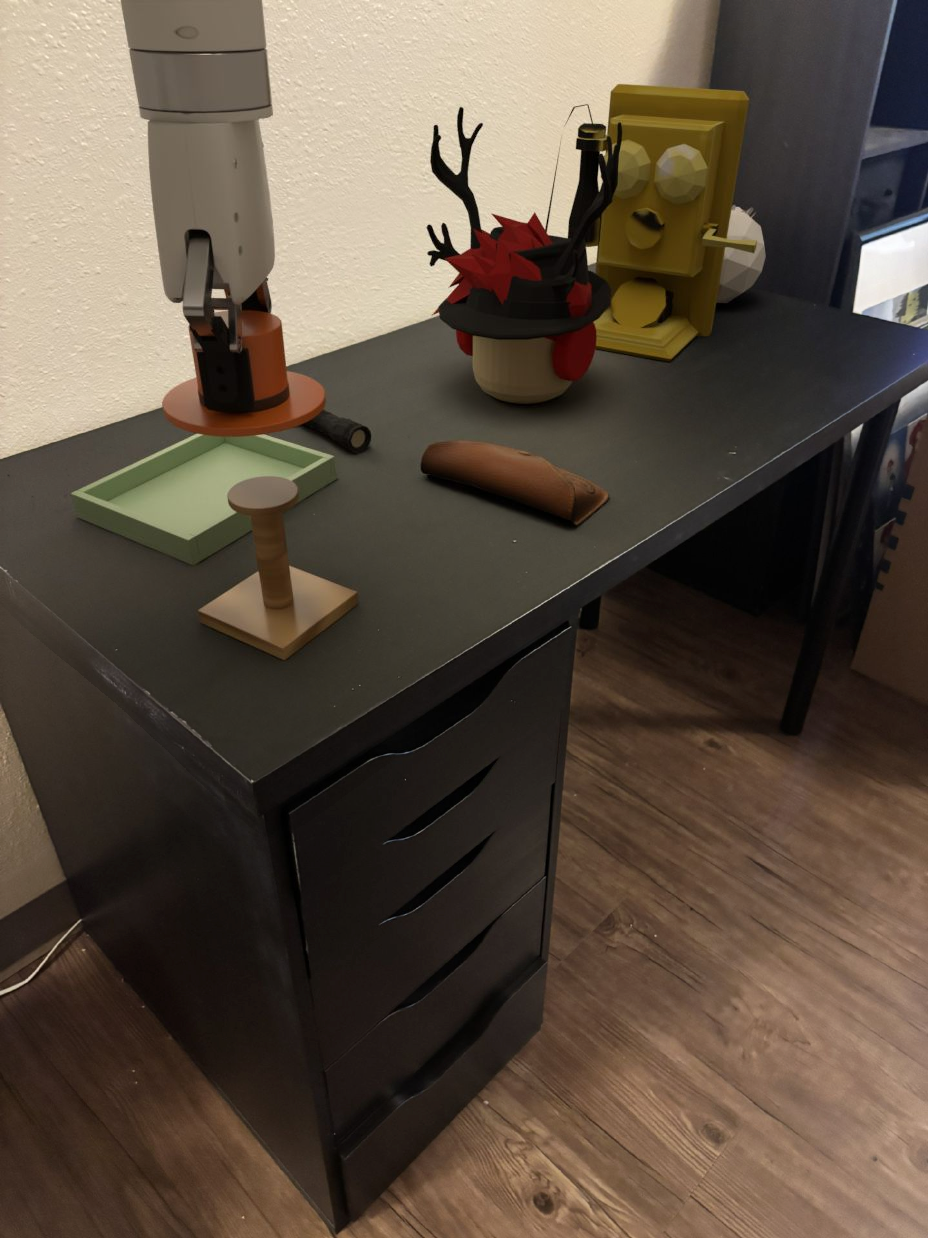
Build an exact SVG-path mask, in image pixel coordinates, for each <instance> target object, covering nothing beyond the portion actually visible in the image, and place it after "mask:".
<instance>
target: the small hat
mask: <svg viewBox="0 0 928 1238" xmlns="http://www.w3.org/2000/svg"><path fill="white" fill-rule="evenodd" d="M214 315H215V316H221V317H222V319H223V320H224V322H225V324H226V325H227V327H228V310H220V311H217V312H216V311H215V312H214ZM189 325H190V324H189V323H188V334H189V341H190V346H191V352H192V358H193V359H192V360H193V365H194V371H195V377H193V378H191V379H188V380H185V381H183V382H181V383H180V384H178V385H176V386H174V387H173V388H171V389H170V390H169V391H168V392H167V393H166V394H165V395H164V397H163V398H162V403H161V406H162V407H161V408H162V411H163V412H162V413H163V415H164V418H165V419H166V420H167V421H168V422H169V423H170V424H171V425H173V426H174V427H177V428H178V429H181V430H183V431H185V432H189V433H193V434H202V435H210V436H222V437H242V436H255V435H263V434H264V435H269V434H273V433H278V432H279V433H280V432H282V431H286V430H290V429H293V428H296V427H298V426H301V425H303V424H305V422H307V421H309V420H311V419H313V418H314V417H316V416H317V415H318V414H319V413H320V412H321V411H322V410H323V409H324V408H325V407H326V403H327V397H326V390H325V388H324V386H323V385H322V384H321V383H320V382H318V381H317V380H316V379H314V378H313V377H309V376H307V375H305V374H301V373H299V372H294V371H289V370H287V362H286V353H285V341H284V340H285V339H284V329H283V323H282V319H281V318H280V317H279V316H277V315H276V314H273V313H271V314H270V313H267V312H262V311H253V310H242V348H247V349H249V357H250V365H251V373H252V381H253V389H254V397H255V406H254V408H253V409H252V411H248V412H247V411H216V410H209V409H207V408H206V406H205V403H204V397H203V390H202V384H201V378H200V372H199V365H198V359H197V353H196V351H195V349H194V344H193V333H192V331H190V328H189Z"/></svg>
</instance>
